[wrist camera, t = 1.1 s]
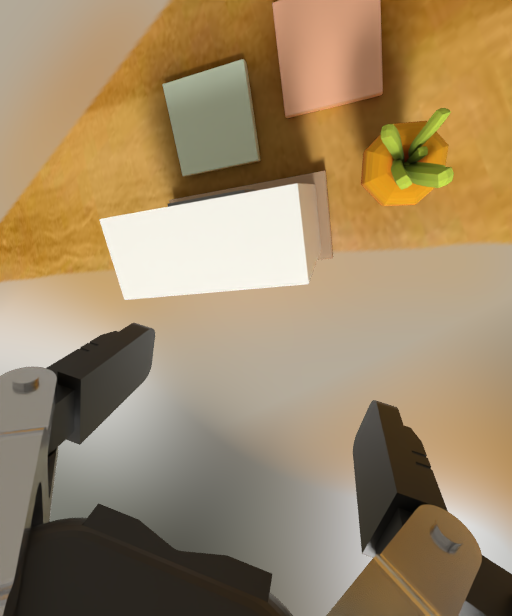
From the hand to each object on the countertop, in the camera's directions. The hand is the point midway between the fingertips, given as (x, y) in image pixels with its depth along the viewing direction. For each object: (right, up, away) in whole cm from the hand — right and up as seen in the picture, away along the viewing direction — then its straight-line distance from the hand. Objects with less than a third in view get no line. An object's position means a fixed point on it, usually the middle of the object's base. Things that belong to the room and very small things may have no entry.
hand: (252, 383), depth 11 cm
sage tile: (-4, +20, +19) cm, 28 cm away
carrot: (+12, +15, +17) cm, 25 cm away
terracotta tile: (+6, +24, +15) cm, 29 cm away
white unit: (0, +11, +22) cm, 24 cm away
